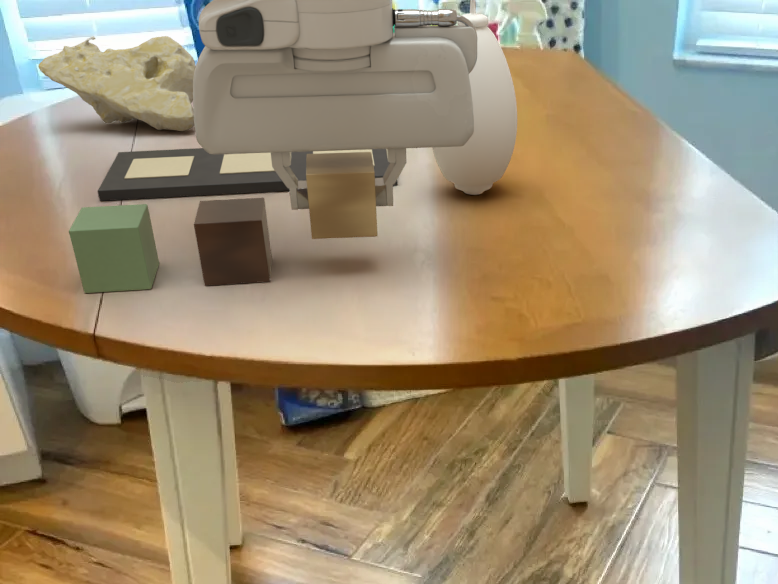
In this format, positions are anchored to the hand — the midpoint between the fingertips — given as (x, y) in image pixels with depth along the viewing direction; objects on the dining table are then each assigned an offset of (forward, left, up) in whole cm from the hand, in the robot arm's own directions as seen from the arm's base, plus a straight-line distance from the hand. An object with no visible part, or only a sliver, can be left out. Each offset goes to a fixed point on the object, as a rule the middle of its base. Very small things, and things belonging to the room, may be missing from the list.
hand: (342, 205), depth 74 cm
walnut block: (-8, 0, -5) cm, 10 cm away
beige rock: (-24, +44, -5) cm, 50 cm away
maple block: (0, 0, -2) cm, 2 cm away
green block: (-18, 0, -5) cm, 18 cm away
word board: (-8, +25, -5) cm, 27 cm away
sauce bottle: (+12, +16, -5) cm, 21 cm away
